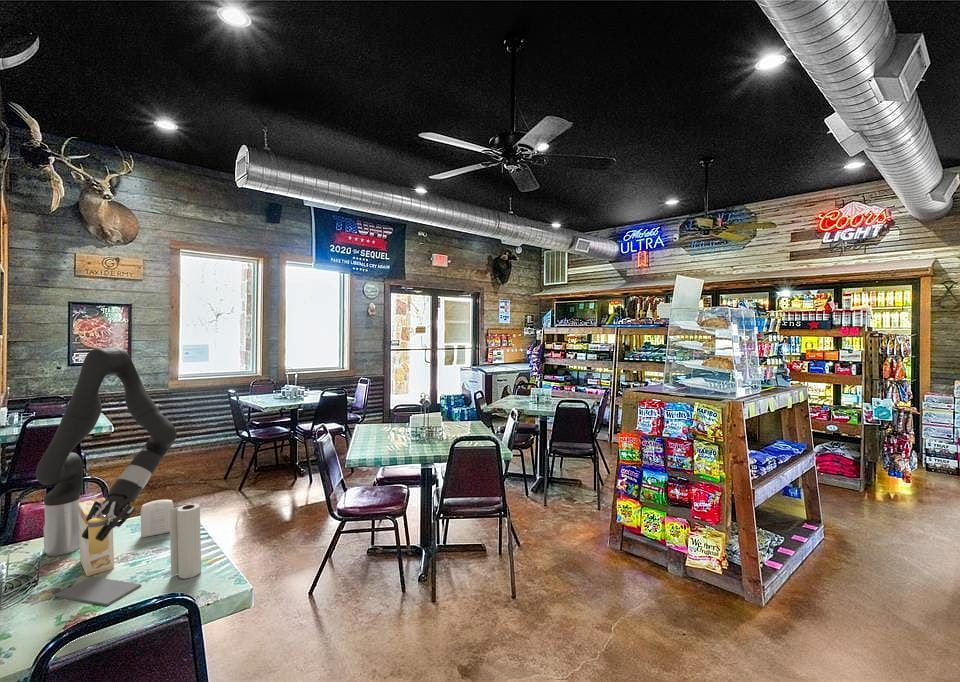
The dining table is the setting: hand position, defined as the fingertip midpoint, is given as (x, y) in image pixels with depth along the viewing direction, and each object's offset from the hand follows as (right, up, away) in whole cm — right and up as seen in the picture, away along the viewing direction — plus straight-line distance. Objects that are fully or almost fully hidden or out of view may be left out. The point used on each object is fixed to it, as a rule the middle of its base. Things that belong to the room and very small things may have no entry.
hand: (91, 538), depth 134 cm
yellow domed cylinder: (0, -4, +2) cm, 4 cm away
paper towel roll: (+20, -16, +12) cm, 29 cm away
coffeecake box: (-13, -16, +18) cm, 28 cm away
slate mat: (0, -16, +2) cm, 17 cm away
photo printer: (-9, -15, +41) cm, 44 cm away
